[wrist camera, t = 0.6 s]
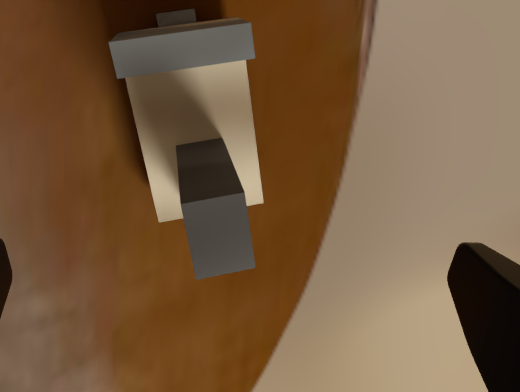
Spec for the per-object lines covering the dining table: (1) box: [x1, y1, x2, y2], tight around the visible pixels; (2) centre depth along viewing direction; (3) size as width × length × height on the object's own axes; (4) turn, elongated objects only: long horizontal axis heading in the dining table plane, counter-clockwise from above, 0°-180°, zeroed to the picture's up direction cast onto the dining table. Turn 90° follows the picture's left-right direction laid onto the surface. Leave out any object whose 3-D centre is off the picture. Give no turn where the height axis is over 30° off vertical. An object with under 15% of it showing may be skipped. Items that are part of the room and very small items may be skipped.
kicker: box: [108, 17, 263, 280], centre depth 17 cm, size 8×5×7 cm, turn 6°
